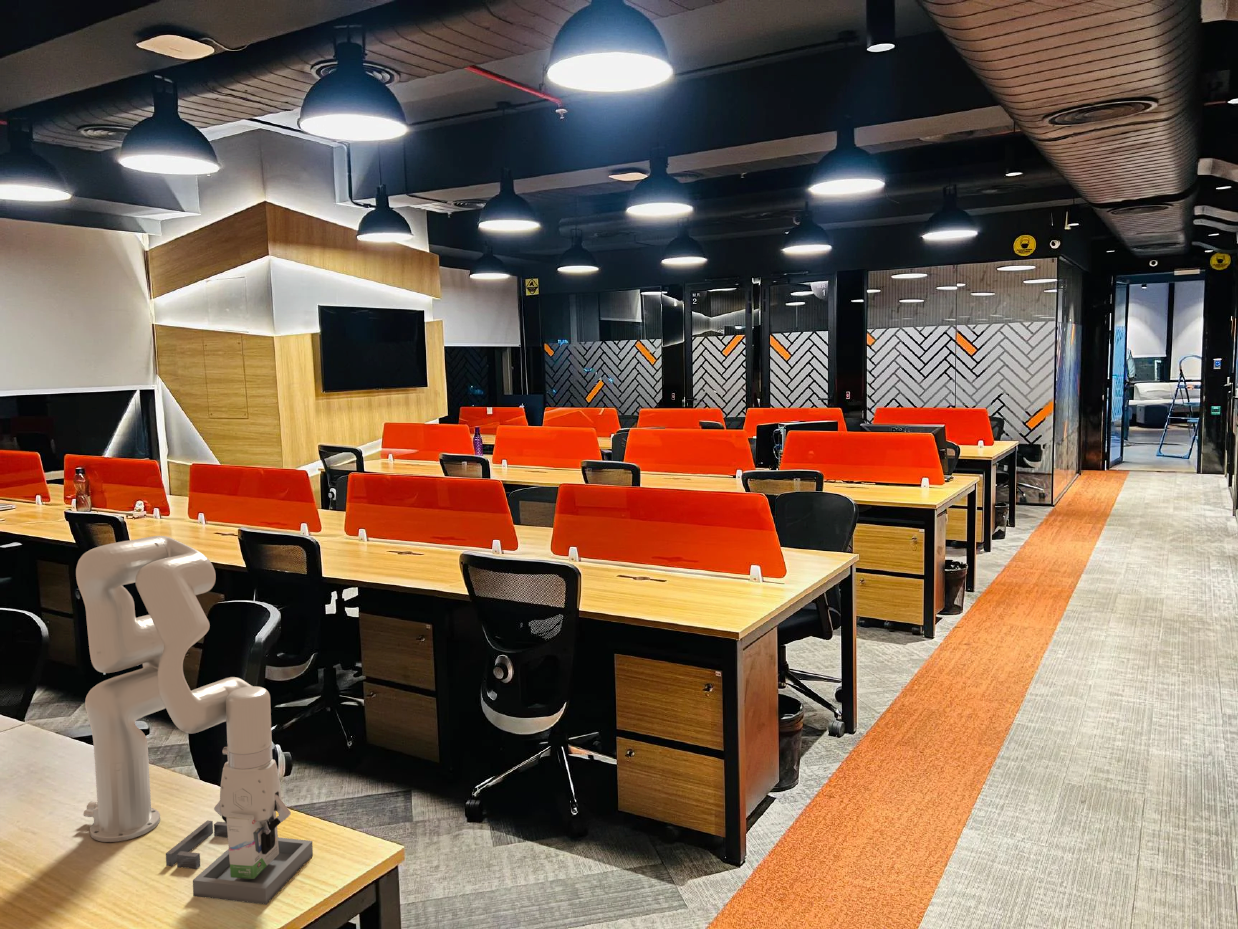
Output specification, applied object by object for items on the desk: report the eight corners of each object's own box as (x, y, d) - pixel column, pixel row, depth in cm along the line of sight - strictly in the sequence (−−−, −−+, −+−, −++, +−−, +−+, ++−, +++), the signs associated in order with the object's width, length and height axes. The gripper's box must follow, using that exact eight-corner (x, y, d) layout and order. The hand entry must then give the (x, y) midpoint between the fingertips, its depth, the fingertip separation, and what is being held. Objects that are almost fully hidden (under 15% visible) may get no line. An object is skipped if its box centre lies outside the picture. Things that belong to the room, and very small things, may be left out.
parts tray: (193, 896, 160) (192, 880, 160) (246, 848, 176) (245, 834, 176) (266, 904, 158) (265, 888, 157) (312, 855, 174) (312, 841, 173)
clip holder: (166, 866, 170) (165, 853, 170) (207, 832, 182) (207, 820, 182) (196, 869, 169) (195, 856, 168) (235, 835, 181) (235, 823, 181)
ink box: (256, 853, 171) (250, 794, 170) (281, 855, 170) (275, 795, 169) (229, 878, 163) (223, 817, 162) (255, 880, 162) (249, 818, 161)
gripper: (195, 760, 162) (199, 855, 164) (281, 768, 159) (285, 865, 161) (220, 743, 170) (224, 834, 172) (303, 750, 167) (306, 843, 169)
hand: (253, 848), depth 166 cm, fingers closed on ink box, 5 cm apart
